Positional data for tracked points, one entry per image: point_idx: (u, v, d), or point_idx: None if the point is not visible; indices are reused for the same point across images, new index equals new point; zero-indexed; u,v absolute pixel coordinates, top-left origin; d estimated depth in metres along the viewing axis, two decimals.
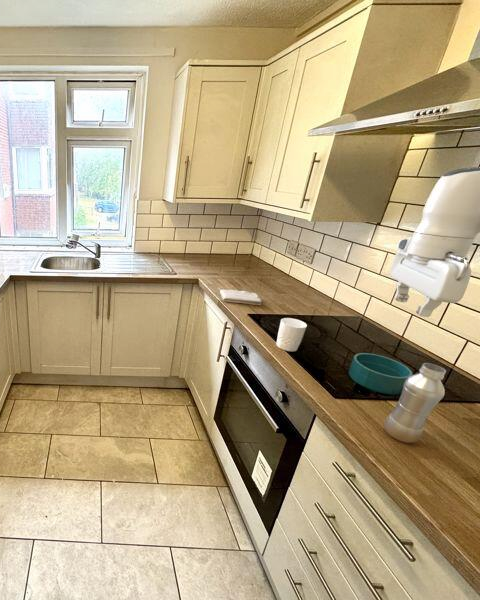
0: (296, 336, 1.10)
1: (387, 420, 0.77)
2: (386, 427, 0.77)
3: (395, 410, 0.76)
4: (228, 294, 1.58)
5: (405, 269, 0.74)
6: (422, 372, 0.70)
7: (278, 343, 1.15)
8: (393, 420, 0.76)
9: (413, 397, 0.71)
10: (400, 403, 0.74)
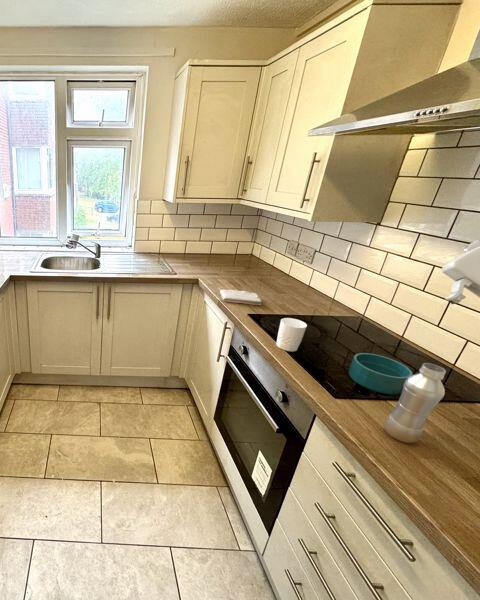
0: (296, 336, 1.10)
1: (387, 420, 0.77)
2: (386, 427, 0.77)
3: (395, 410, 0.76)
4: (228, 294, 1.58)
5: None
6: (422, 372, 0.70)
7: (278, 343, 1.15)
8: (393, 420, 0.76)
9: (413, 397, 0.71)
10: (400, 403, 0.74)
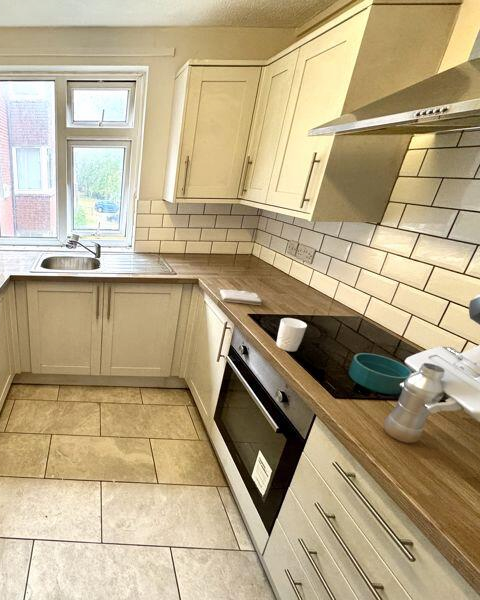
0: (296, 336, 1.10)
1: (387, 420, 0.77)
2: (386, 427, 0.77)
3: (394, 410, 0.76)
4: (228, 294, 1.58)
5: None
6: (422, 372, 0.70)
7: (278, 343, 1.15)
8: (392, 420, 0.76)
9: (413, 396, 0.71)
10: (400, 403, 0.74)
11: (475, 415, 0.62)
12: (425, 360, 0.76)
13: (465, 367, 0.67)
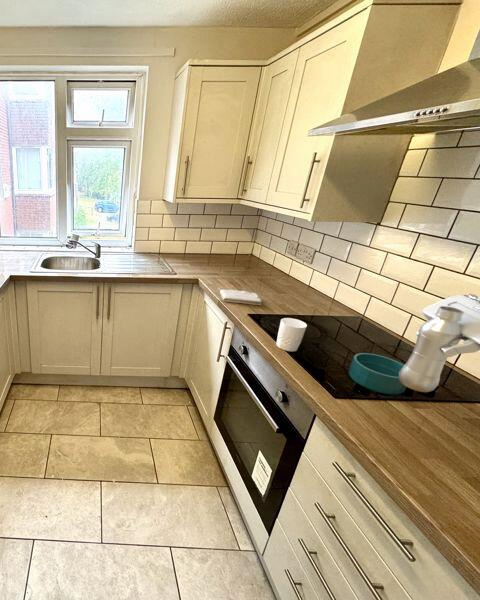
0: (296, 336, 1.10)
1: (401, 370, 0.74)
2: (400, 377, 0.74)
3: (410, 359, 0.73)
4: (228, 294, 1.58)
5: None
6: (438, 314, 0.68)
7: (278, 343, 1.15)
8: (407, 369, 0.73)
9: (428, 341, 0.68)
10: (415, 350, 0.72)
11: None
12: None
13: None
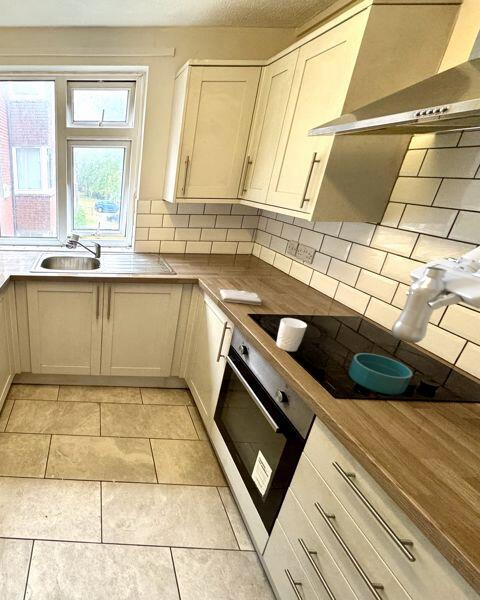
0: (296, 336, 1.10)
1: (394, 325, 0.85)
2: (393, 331, 0.85)
3: (401, 315, 0.84)
4: (228, 294, 1.58)
5: None
6: (426, 274, 0.78)
7: (278, 343, 1.15)
8: (399, 323, 0.84)
9: (418, 297, 0.79)
10: (406, 307, 0.82)
11: (473, 301, 0.70)
12: None
13: (464, 266, 0.76)
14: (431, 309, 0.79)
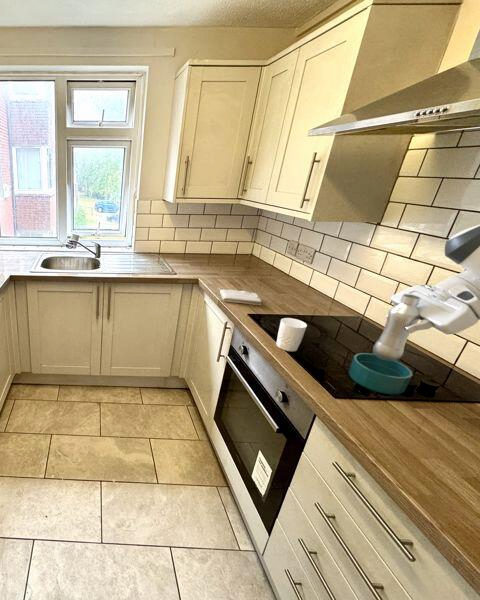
0: (296, 336, 1.10)
1: (375, 345, 0.94)
2: (374, 351, 0.94)
3: (381, 336, 0.93)
4: (228, 294, 1.58)
5: None
6: (402, 300, 0.87)
7: (278, 343, 1.15)
8: (379, 344, 0.93)
9: (395, 321, 0.88)
10: (385, 329, 0.91)
11: (442, 328, 0.79)
12: None
13: (436, 295, 0.85)
14: (407, 332, 0.88)
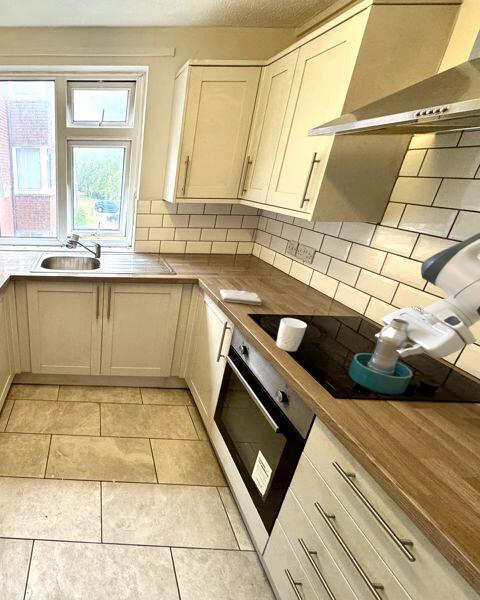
0: (296, 336, 1.10)
1: (366, 366, 0.97)
2: None
3: (372, 358, 0.96)
4: (228, 294, 1.58)
5: None
6: (391, 325, 0.90)
7: (278, 343, 1.15)
8: (370, 366, 0.96)
9: (385, 345, 0.91)
10: (375, 351, 0.94)
11: (430, 351, 0.82)
12: (397, 317, 0.95)
13: (425, 318, 0.87)
14: (396, 355, 0.91)
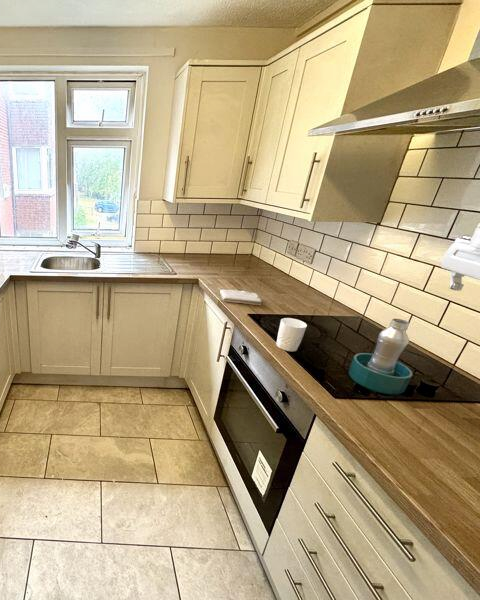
0: (296, 336, 1.10)
1: (366, 366, 0.97)
2: None
3: (372, 358, 0.96)
4: (228, 294, 1.58)
5: None
6: (391, 325, 0.90)
7: (278, 343, 1.15)
8: (370, 366, 0.96)
9: (385, 345, 0.91)
10: (375, 351, 0.94)
11: None
12: (453, 259, 0.83)
13: None
14: (396, 355, 0.91)
